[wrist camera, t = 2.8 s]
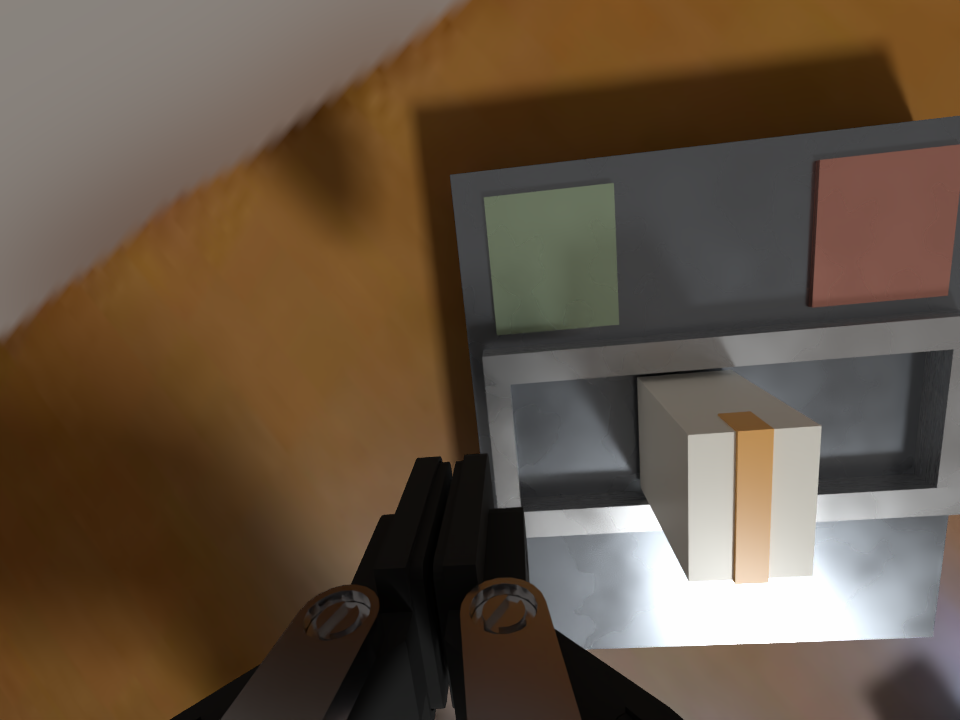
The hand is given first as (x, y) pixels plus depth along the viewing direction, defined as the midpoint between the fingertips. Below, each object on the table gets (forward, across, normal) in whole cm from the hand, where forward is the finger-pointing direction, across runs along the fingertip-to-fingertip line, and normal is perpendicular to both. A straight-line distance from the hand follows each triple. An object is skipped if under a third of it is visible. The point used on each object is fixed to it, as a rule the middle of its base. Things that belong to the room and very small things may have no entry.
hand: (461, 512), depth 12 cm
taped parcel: (+6, -7, +1) cm, 9 cm away
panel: (+9, -8, +1) cm, 12 cm away
